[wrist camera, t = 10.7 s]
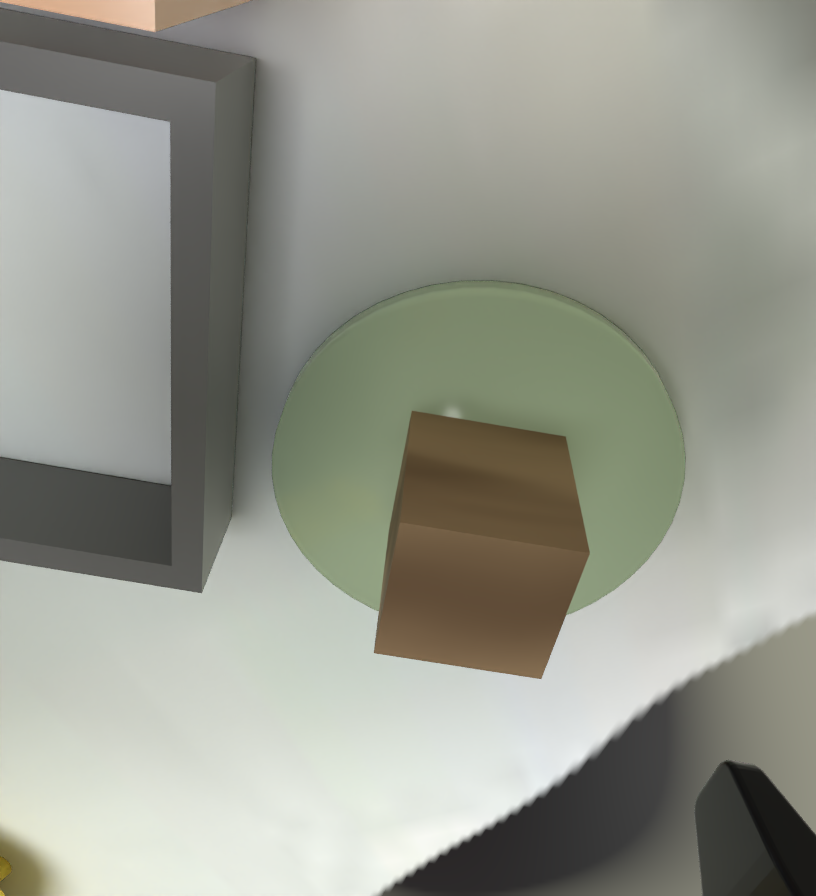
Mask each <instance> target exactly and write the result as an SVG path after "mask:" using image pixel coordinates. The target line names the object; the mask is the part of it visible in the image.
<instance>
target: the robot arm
mask: <svg viewBox="0 0 816 896" xmlns="http://www.w3.org/2000/svg"><path fill="white" fill-rule="evenodd" d="M694 813H695V825H696V836H697V846H698V856H699V867H700V877H701V887H702V896H816V834H815V833H814V832H813V831H812V830H811V828H810V827H809V826H808V825H807V824H806V822H805V821H804V820H803V819H802V817H801V816H800V815H799V814H798V813H797V811H796V810H795V809H794V808H793V807H792V806H791V804H790V803H789V802H788V800H787V799H786V798H785V797H784V796H783V795H782V793H781V792H780V791H779V790H778V789H777V787H776V786H775V785H774V784H773V782H772V781H771V780H770V779H769V777H768V776H767V775H766V774H765V773H764V772H763V771H762V770H761V769H760V768H759V767H757V766H756V765H753V764H749V763H744V762H738V761H732V760H726V761H723V762H722V763H720V764H719V766H718V767H717V768H716V770H715V771H714V773H713V774H712V776H711V777H710V778H709V780H708V781H707V783H706V784H705V786H704V787H703V788H702V790H701V791H700V793H699V794H698V796H697V799H696V803H695V812H694Z"/></svg>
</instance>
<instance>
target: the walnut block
mask: <svg viewBox="0 0 816 896" xmlns="http://www.w3.org/2000/svg"><path fill="white" fill-rule="evenodd" d="M589 555H590V551H589V546H588V541H587V536H586V532H585V527H584V522H583V517H582V512H581V507H580V503H579V498H578V493H577V488H576V483H575V478H574V474H573V469H572V464H571V459H570V454H569V449H568V445H567V440H566V436H560V435H554V434H548V433H542V432H536V431H530V430H524V429H518V428H512V427H506V426H500V425H495V424H489V423H483V422H477V421H471V420H465V419H459V418H453V417H447V416H441V415H435V414H429V413H423V412H417V411H412V412H411V417H410V422H409V428H408V433H407V438H406V443H405V448H404V454H403V459H402V464H401V469H400V475H399V480H398V485H397V490H396V495H395V501H394V506H393V511H392V516H391V522H390V527H389V533H388V541H387V550H386V558H385V566H384V574H383V582H382V591H381V599H380V607H379V615H378V623H377V632H376V640H375V648H374V653H377V654H383V655H390V656H396V657H403V658H409V659H416V660H422V661H428V662H435V663H441V664H448V665H454V666H461V667H467V668H474V669H480V670H486V671H493V672H499V673H506V674H512V675H519V676H525V677H532V678H538V679H541V678H542V675H543V673H544V670H545V668H546V665H547V663H548V660H549V657H550V655H551V652H552V650H553V647H554V645H555V642H556V639H557V637H558V634H559V632H560V629H561V627H562V624H563V621H564V619H565V616H566V614H567V611H568V609H569V606H570V603H571V601H572V598H573V596H574V593H575V591H576V588H577V585H578V583H579V580H580V578H581V575H582V573H583V570H584V567H585V565H586V562H587V560H588V557H589Z"/></svg>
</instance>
